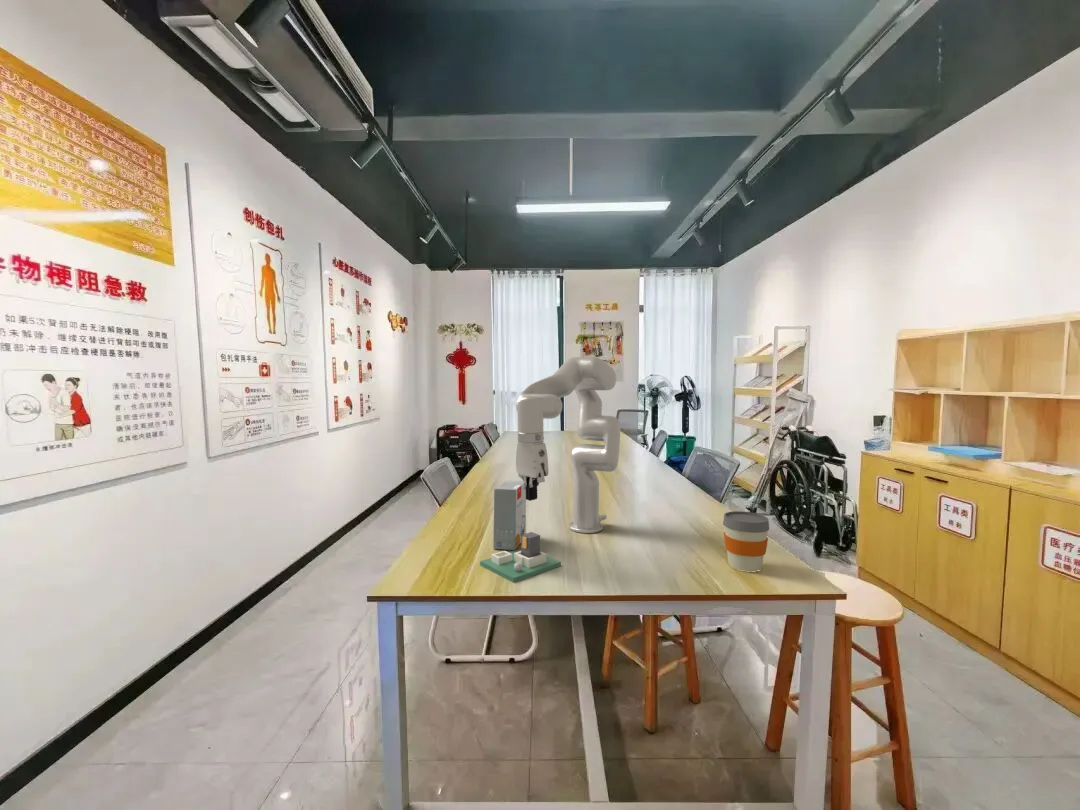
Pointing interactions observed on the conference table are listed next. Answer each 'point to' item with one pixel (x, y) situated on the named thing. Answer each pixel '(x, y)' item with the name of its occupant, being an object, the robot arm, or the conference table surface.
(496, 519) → the hard drive box
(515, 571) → the board
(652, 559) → the conference table surface
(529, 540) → the plug
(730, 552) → the reusable coffee cup
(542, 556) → the frame
